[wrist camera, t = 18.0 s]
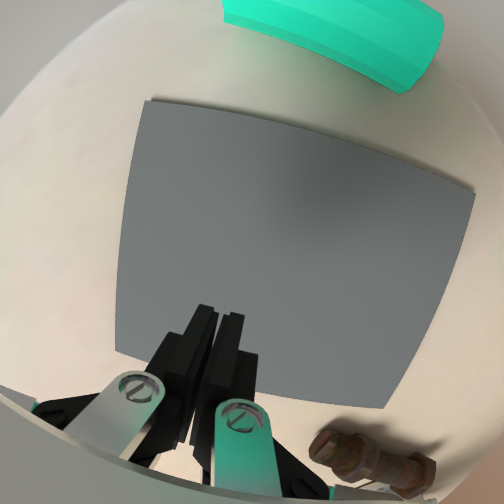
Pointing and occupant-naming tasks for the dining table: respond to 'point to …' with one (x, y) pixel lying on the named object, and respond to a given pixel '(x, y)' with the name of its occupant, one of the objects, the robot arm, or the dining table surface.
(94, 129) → the dining table surface
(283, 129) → the mat
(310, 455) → the bolt
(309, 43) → the candle
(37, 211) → the dining table surface
